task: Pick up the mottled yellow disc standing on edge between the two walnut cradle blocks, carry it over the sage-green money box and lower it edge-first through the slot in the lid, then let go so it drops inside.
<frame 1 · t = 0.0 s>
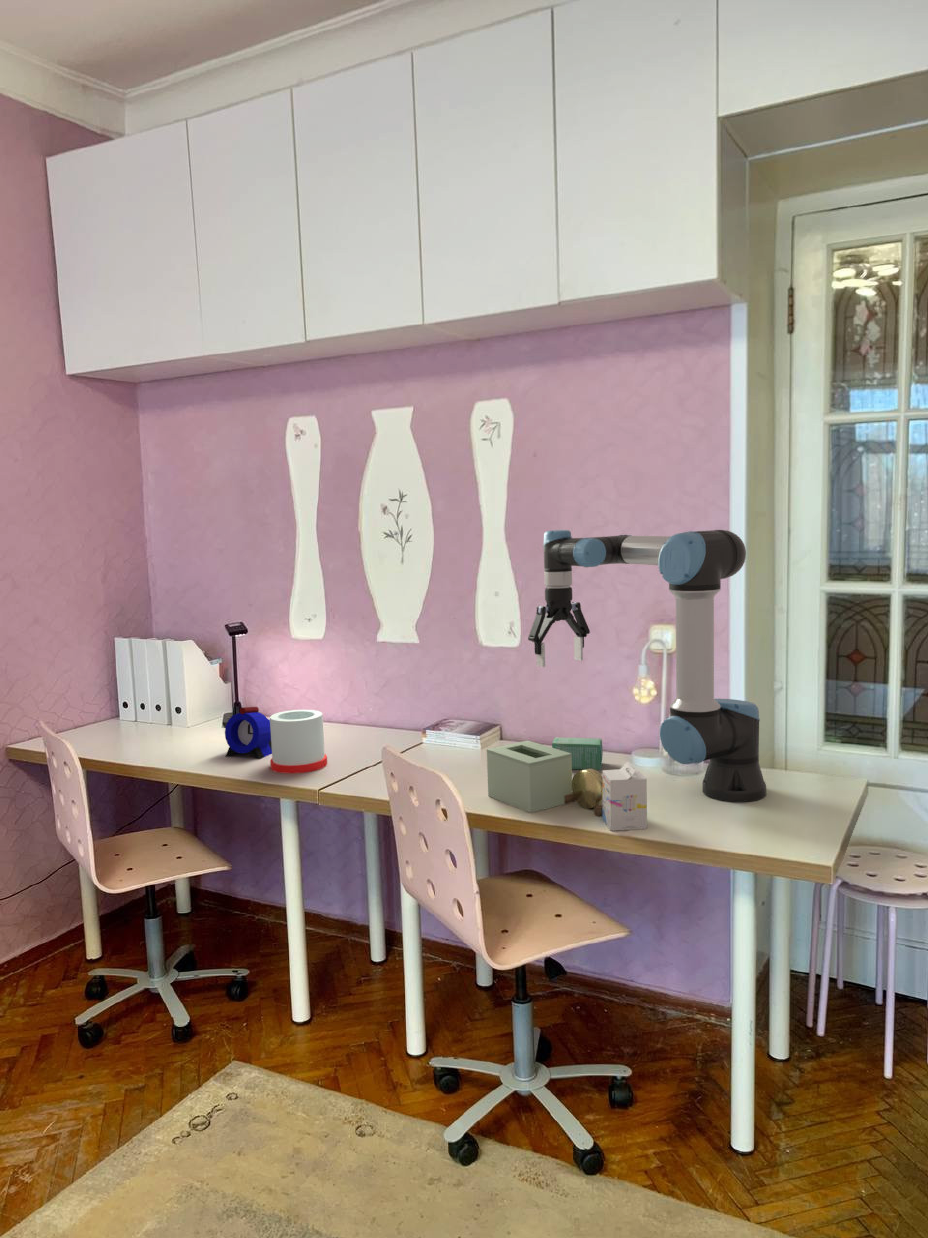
hand: (560, 663, 263), 28 cm above the table, fingers open, 13 cm apart
cradle: (589, 806, 227), on the table
box: (577, 767, 262), on the table
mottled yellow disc: (589, 806, 227), on the table
money box: (529, 798, 235), on the table
ink box: (624, 824, 214), on the table
container: (299, 766, 272), on the table
alarm clock: (253, 754, 287), on the table
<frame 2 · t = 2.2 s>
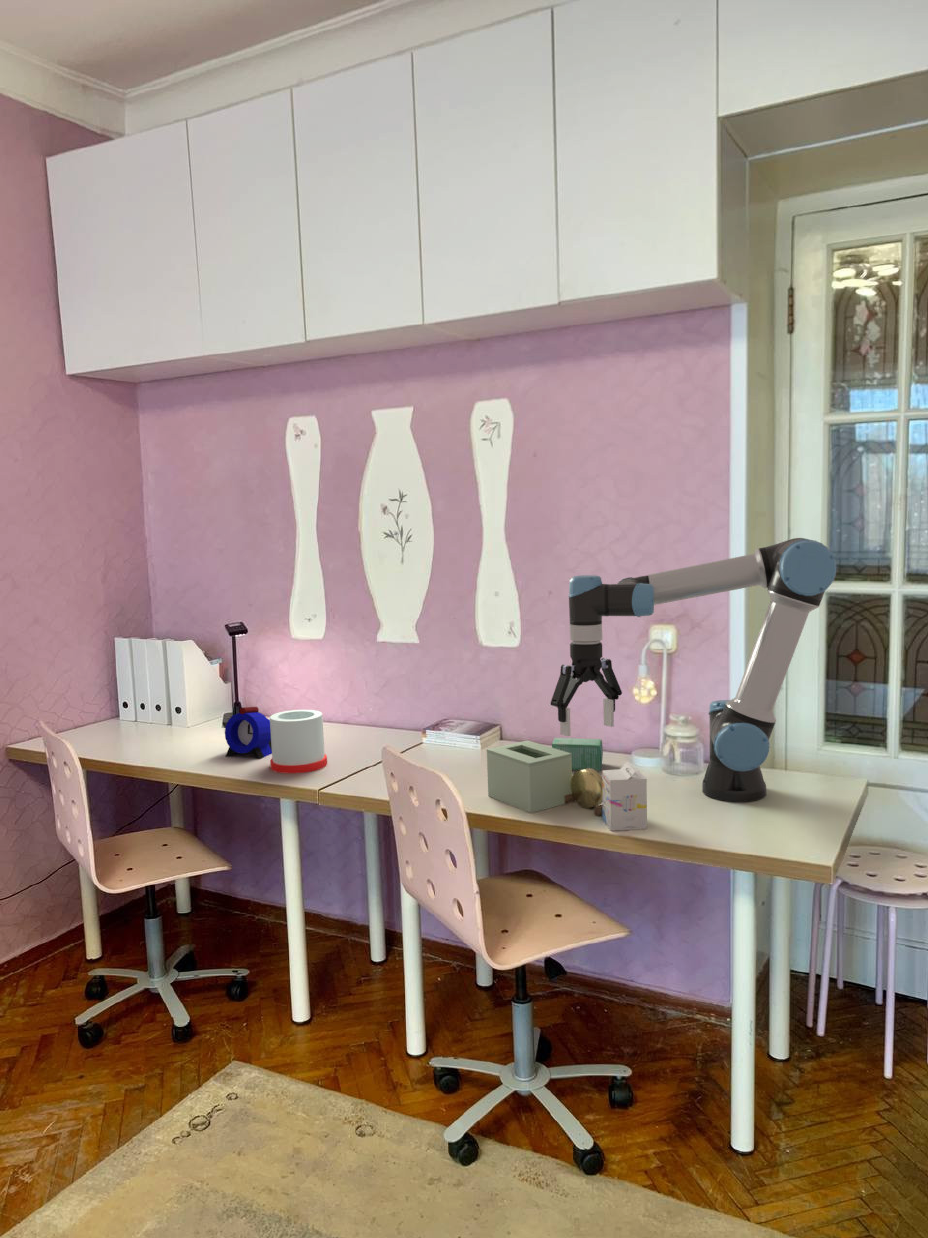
hand: (587, 730, 225), 19 cm above the table, fingers open, 13 cm apart
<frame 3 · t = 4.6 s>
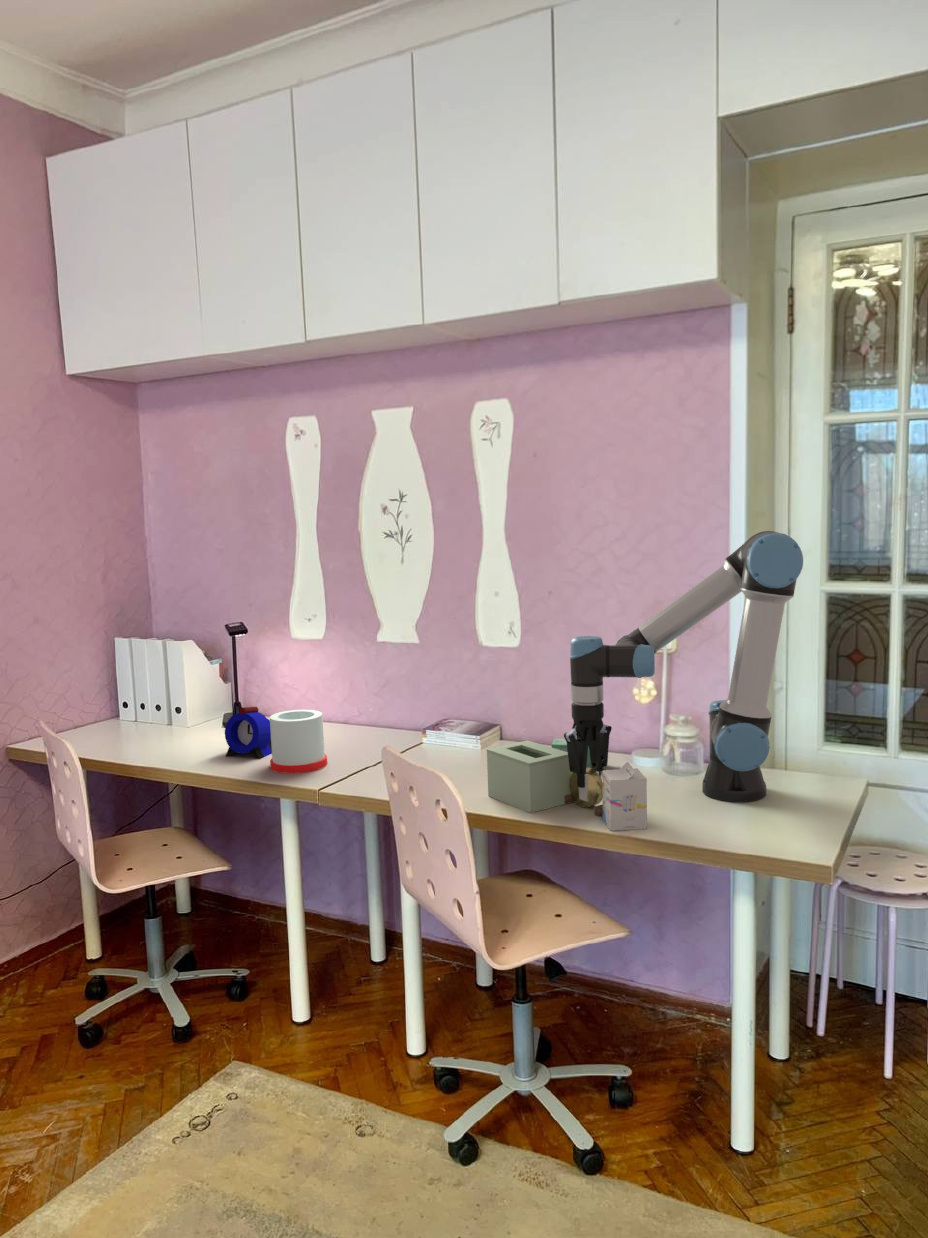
hand: (589, 798, 227), 2 cm above the table, fingers closed on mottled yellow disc, 2 cm apart
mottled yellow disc: (589, 806, 227), on the table, tilted 12°, touching gripper
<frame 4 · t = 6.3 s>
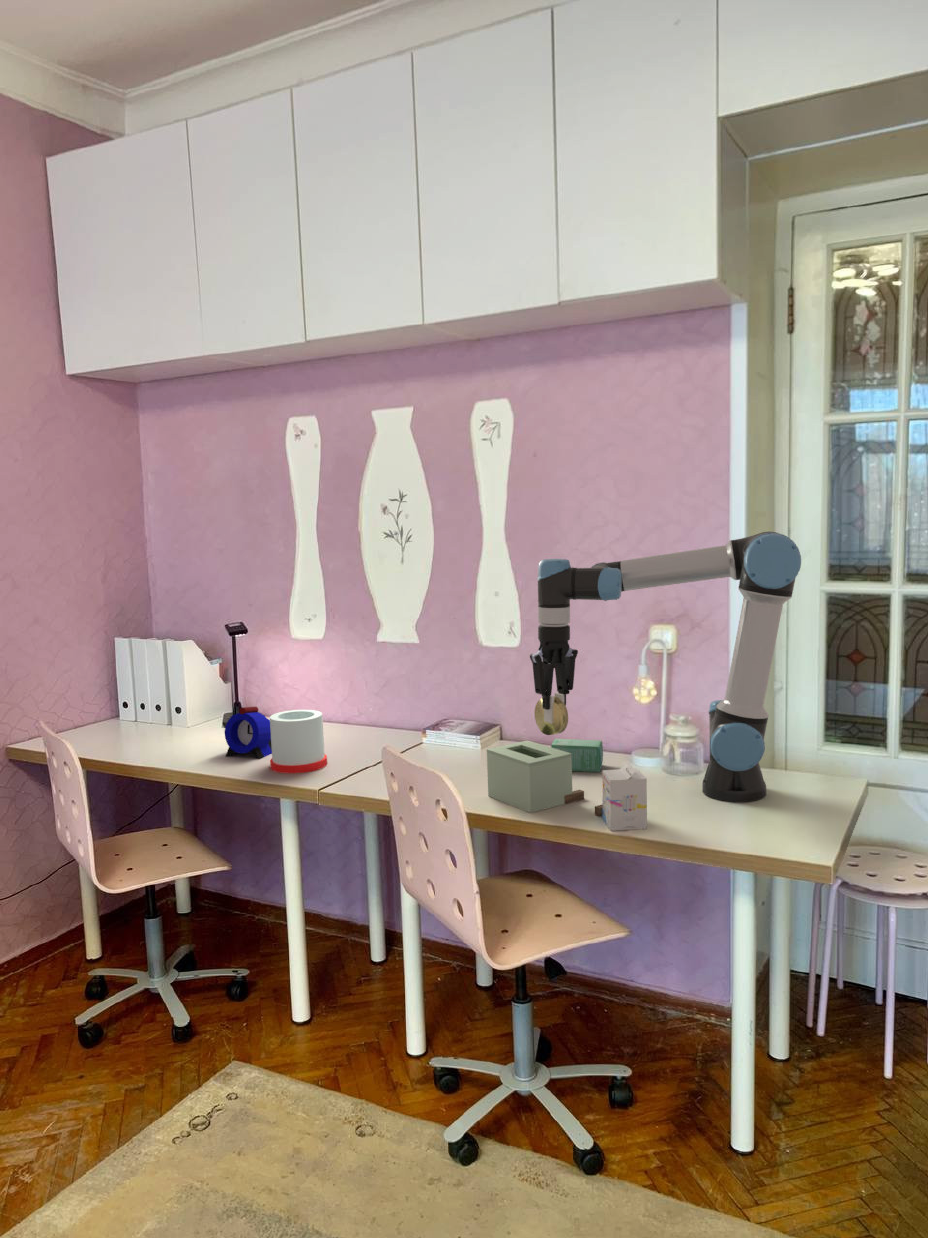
hand: (554, 721, 228), 20 cm above the table, fingers closed on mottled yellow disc, 2 cm apart
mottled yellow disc: (547, 732, 231), point 17 cm above the table, tilted 18°, touching gripper
when the fingers open (13 cm above the table, at t = 8.1 s): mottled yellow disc drops 8 cm and tips over, resting on money box.
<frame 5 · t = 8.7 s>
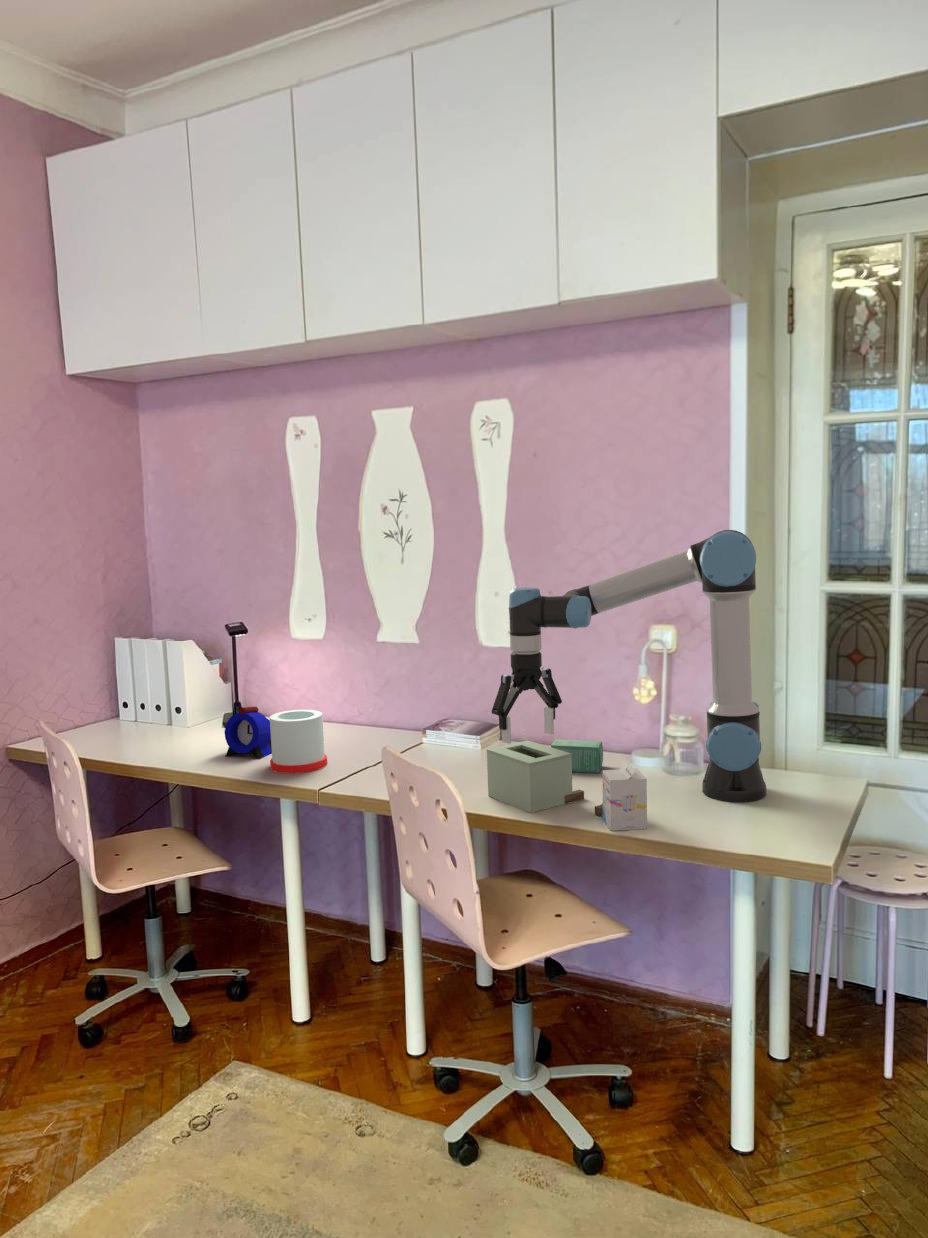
hand: (528, 737, 233), 15 cm above the table, fingers open, 13 cm apart
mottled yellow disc: (524, 789, 236), point 2 cm above the table, tilted 32°, touching money box
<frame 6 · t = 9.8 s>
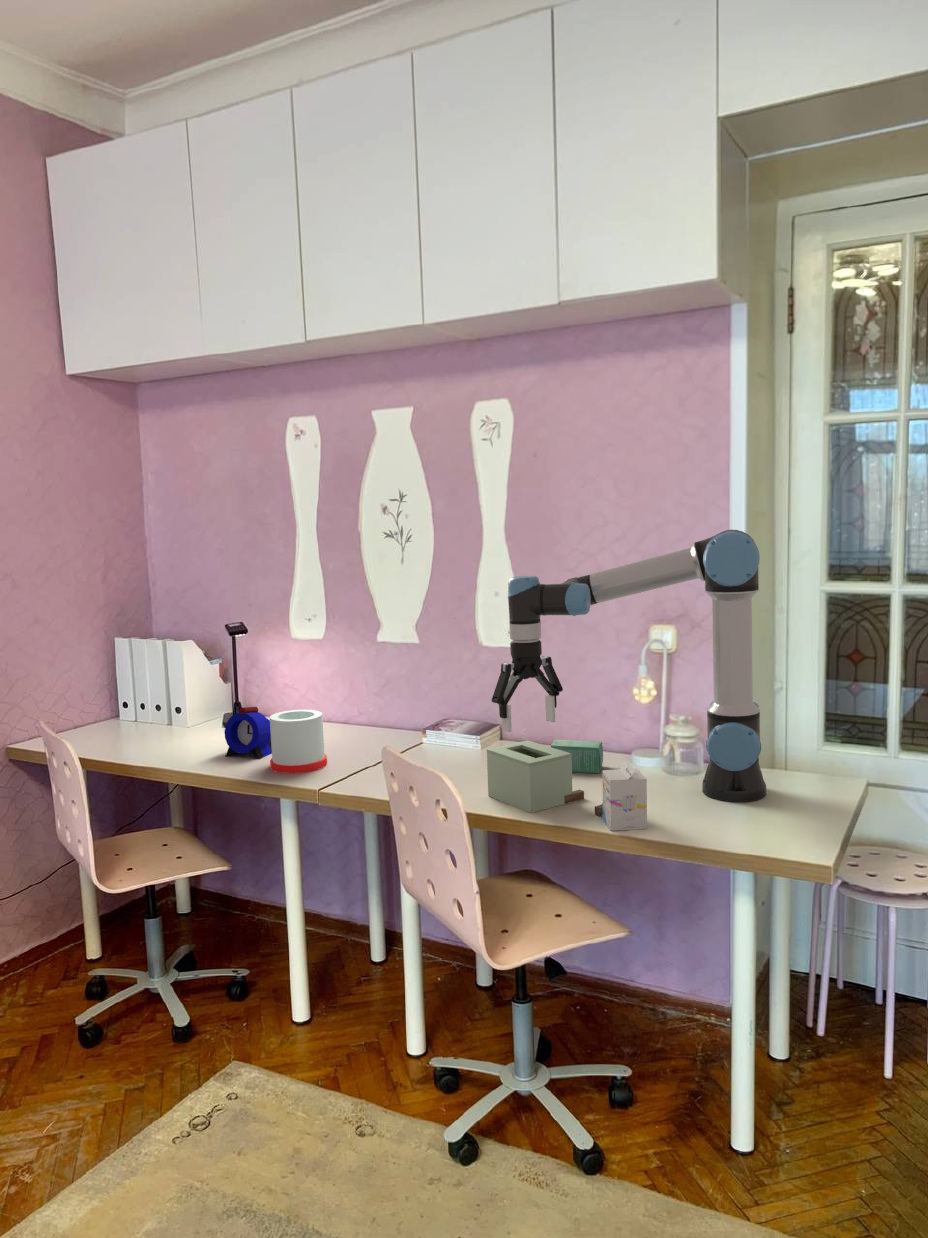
hand: (529, 726, 232), 18 cm above the table, fingers open, 13 cm apart
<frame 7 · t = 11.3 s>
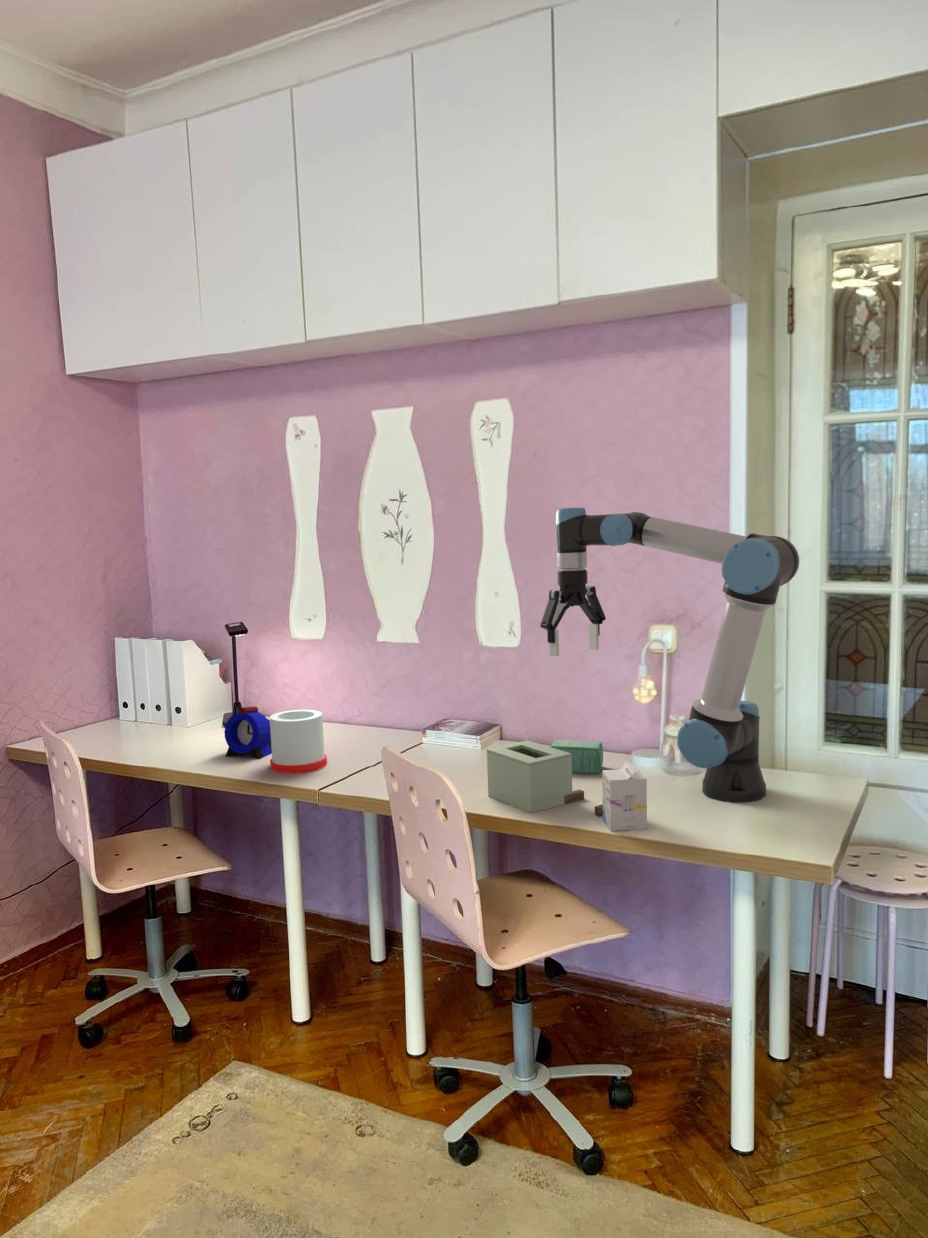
hand: (574, 652, 242), 34 cm above the table, fingers open, 13 cm apart
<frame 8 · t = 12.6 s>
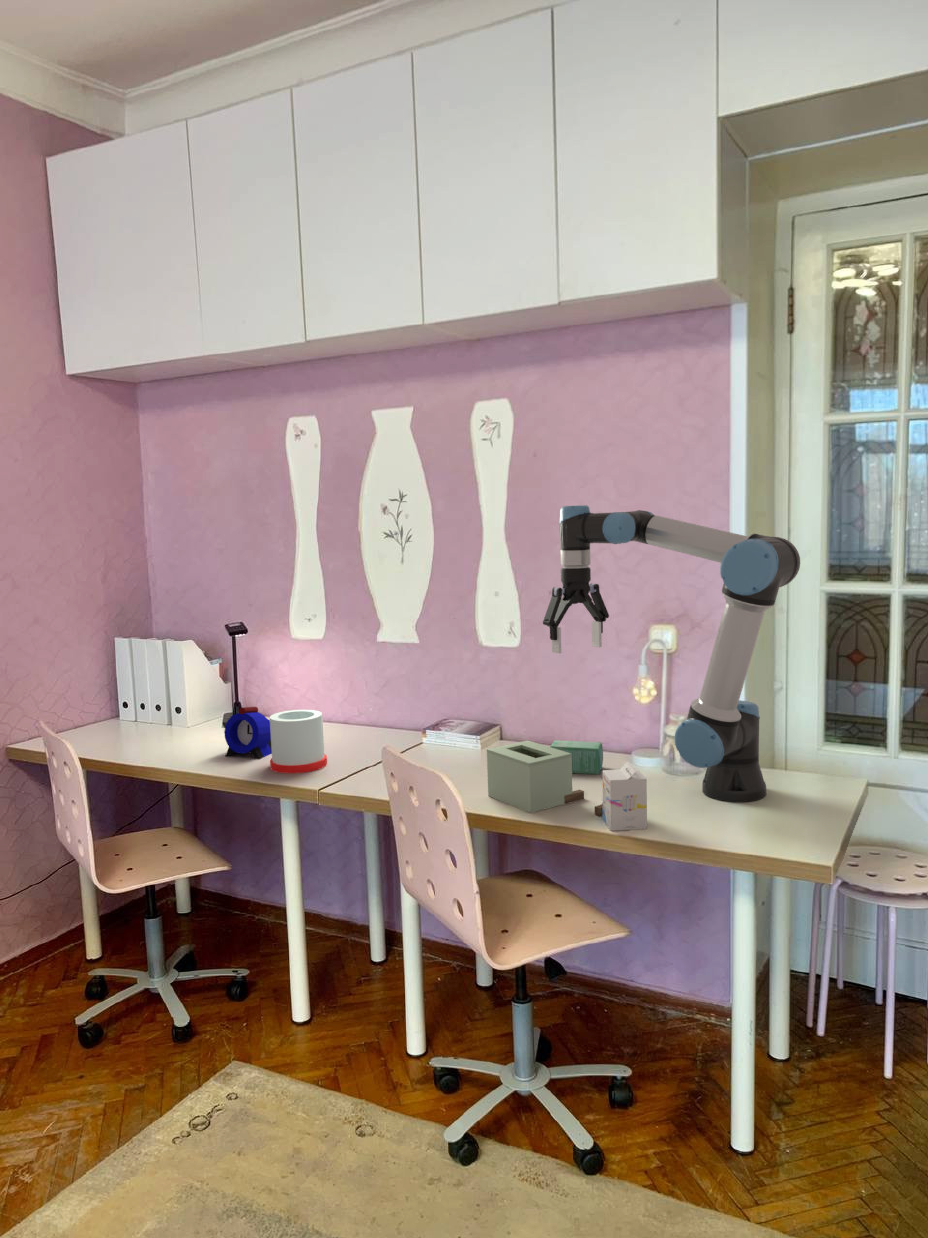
hand: (577, 649, 243), 35 cm above the table, fingers open, 13 cm apart
at the end: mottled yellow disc inside the target area on the money box (2.4 cm from its centre), point 1.7 cm above the money box's base; the gripper is holding nothing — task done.
